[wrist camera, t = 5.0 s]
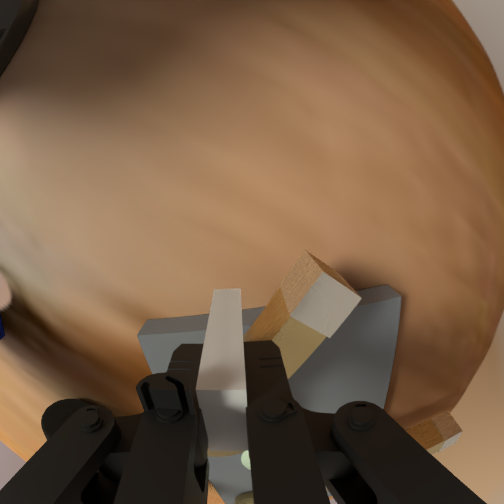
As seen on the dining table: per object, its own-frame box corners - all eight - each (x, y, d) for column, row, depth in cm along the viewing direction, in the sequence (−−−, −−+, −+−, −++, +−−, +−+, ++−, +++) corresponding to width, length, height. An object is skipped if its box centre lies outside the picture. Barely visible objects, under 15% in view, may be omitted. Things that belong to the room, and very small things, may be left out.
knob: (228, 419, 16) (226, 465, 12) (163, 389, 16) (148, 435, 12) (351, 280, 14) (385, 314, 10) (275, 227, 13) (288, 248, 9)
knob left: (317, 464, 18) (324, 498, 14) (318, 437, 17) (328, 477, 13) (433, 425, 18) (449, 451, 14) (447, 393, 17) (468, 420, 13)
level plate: (147, 319, 17) (130, 344, 14) (387, 284, 16) (410, 303, 13) (229, 496, 24) (228, 514, 21) (353, 478, 24) (358, 495, 21)
